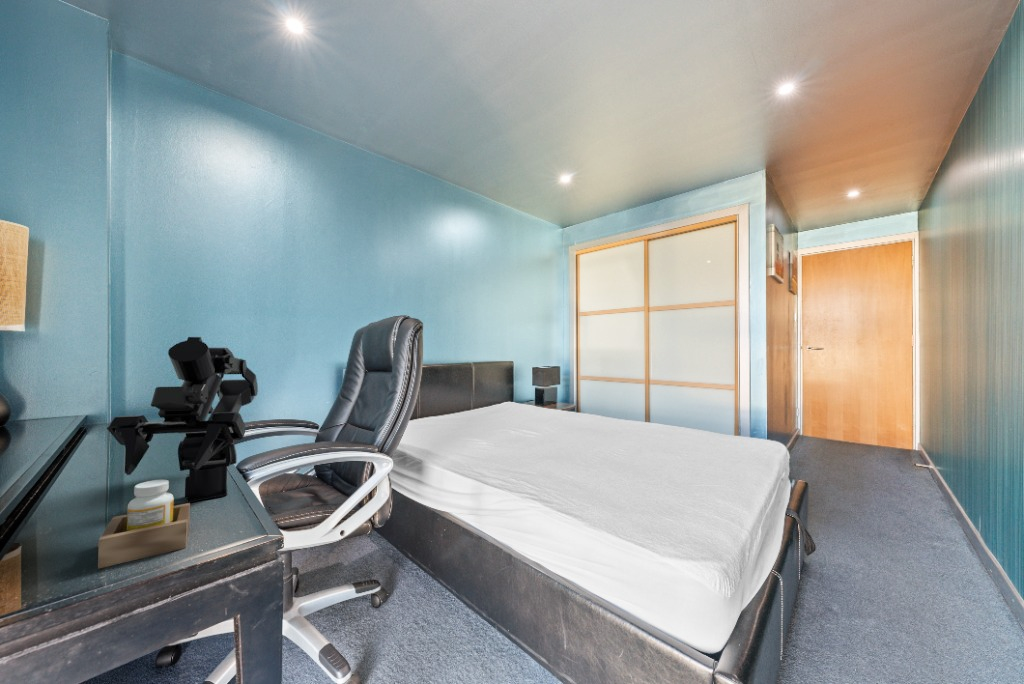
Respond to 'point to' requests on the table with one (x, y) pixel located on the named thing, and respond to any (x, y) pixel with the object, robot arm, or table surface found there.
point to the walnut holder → (143, 538)
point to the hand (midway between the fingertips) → (161, 471)
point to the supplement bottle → (150, 505)
